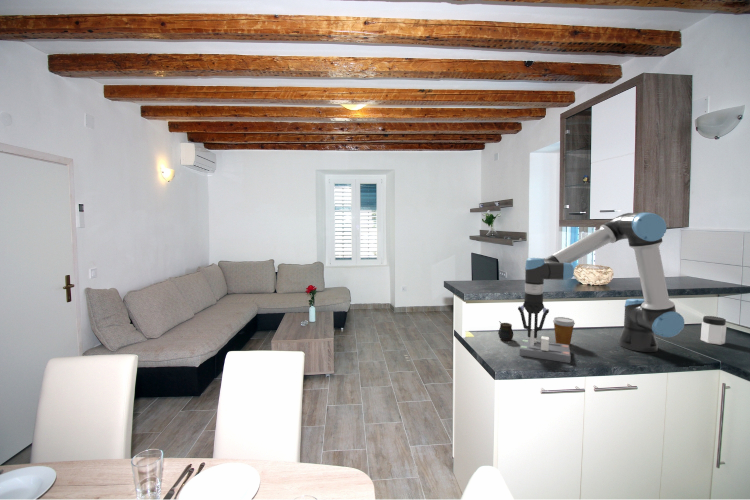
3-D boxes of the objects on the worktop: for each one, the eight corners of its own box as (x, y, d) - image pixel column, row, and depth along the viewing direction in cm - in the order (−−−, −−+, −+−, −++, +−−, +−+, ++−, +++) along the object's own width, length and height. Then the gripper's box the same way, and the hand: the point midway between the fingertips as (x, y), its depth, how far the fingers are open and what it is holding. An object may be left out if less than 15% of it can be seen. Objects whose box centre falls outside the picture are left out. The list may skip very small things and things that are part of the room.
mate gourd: (516, 340, 182) (517, 321, 181) (505, 343, 179) (505, 323, 178) (506, 336, 188) (506, 317, 187) (494, 338, 185) (495, 319, 184)
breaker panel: (568, 351, 168) (568, 344, 167) (570, 362, 154) (570, 355, 154) (521, 344, 176) (522, 338, 176) (519, 355, 163) (519, 348, 162)
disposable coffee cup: (576, 347, 172) (577, 322, 171) (555, 346, 174) (556, 321, 173) (570, 340, 182) (571, 317, 180) (549, 339, 183) (550, 316, 182)
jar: (706, 337, 185) (708, 314, 184) (727, 342, 178) (729, 319, 177) (697, 340, 181) (699, 317, 180) (718, 345, 174) (720, 321, 173)
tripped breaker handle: (548, 348, 162) (548, 337, 161) (548, 351, 158) (548, 339, 158) (541, 347, 163) (541, 336, 163) (540, 349, 160) (541, 338, 159)
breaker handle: (536, 340, 172) (537, 329, 172) (536, 342, 169) (536, 332, 168) (529, 339, 173) (530, 329, 173) (529, 341, 170) (529, 331, 169)
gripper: (517, 293, 160) (515, 345, 162) (550, 295, 155) (548, 349, 157) (518, 290, 167) (517, 339, 169) (550, 292, 161) (548, 344, 163)
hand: (532, 344), depth 163 cm, fingers closed
